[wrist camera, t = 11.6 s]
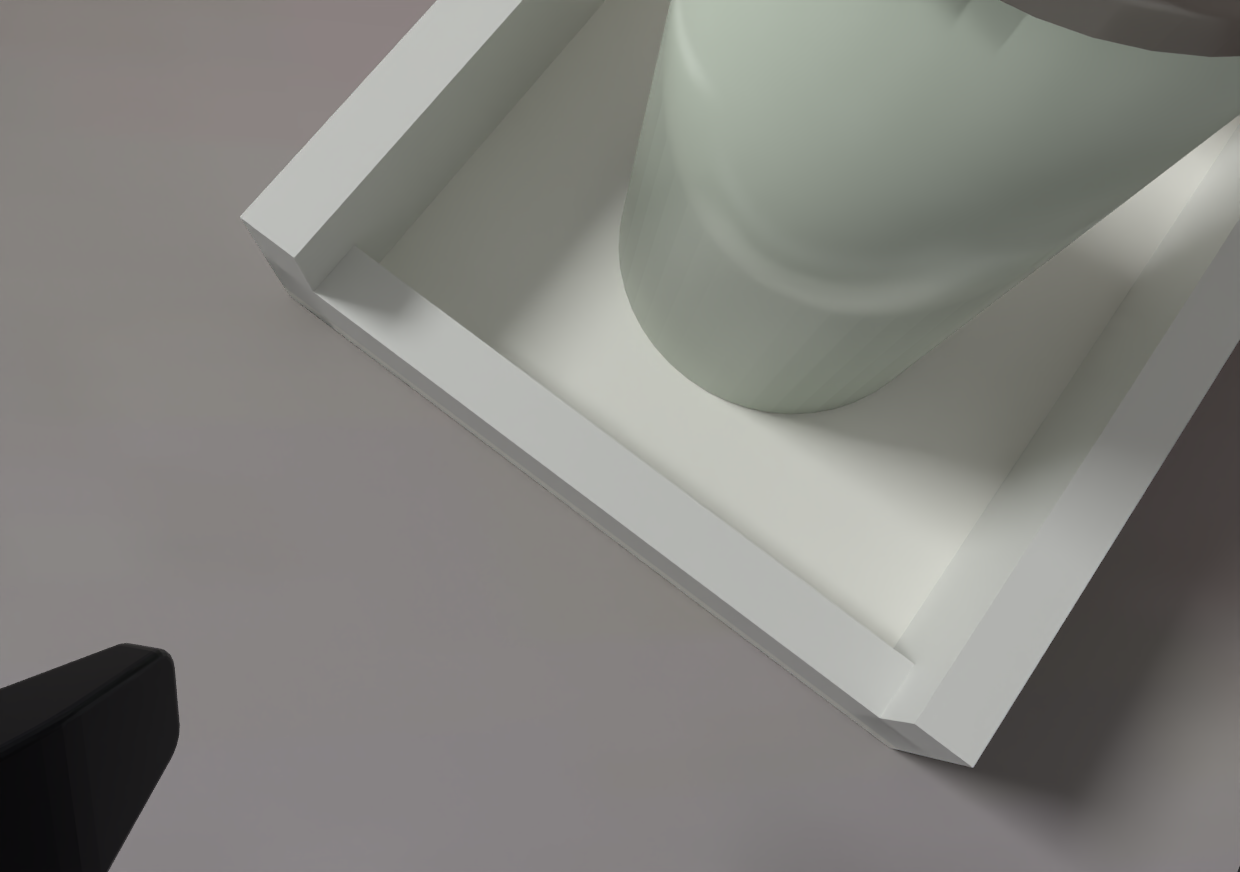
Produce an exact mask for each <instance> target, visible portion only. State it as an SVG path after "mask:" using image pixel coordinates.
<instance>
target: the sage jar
mask: <svg viewBox="0 0 1240 872" xmlns="http://www.w3.org/2000/svg"><path fill="white" fill-rule="evenodd" d="M1238 115H1240V0H671V1H670V5H669V10H668V14H667V18H666V23H665V27H664V32H663V36H662V40H661V45H660V49H659V54H658V58H657V63H656V67H655V71H654V76H653V80H652V85H651V89H650V93H649V98H648V102H647V107H646V111H645V115H644V120H643V124H642V129H641V133H640V138H639V142H638V146H637V151H636V155H635V160H634V164H633V168H632V173H631V177H630V182H629V186H628V190H627V195H626V199H625V204H624V208H623V213H622V218H621V223H620V231H619V261H620V270H621V275H622V279H623V284H624V289H625V292H626V294H627V297H628V300H629V303H630V305H631V308H632V311H633V312H634V314H635V316H636V318H637V320H638V322H639V324H640V326H641V328H642V330H643V331H644V332H645V334H646V335H647V337H648V338H649V340H650V341H651V342H652V344H653V345H654V347H655V348H656V349H657V350H658V351H659V352H660V353H661V355H662V356H663V357H664V358H665V359H666V360H667V361H668V362H669V363H670V364H671V365H672V366H673V367H674V368H675V369H677V370H678V371H679V372H680V373H681V374H682V375H684V376H685V377H686V378H687V379H689V380H690V381H692V382H693V383H695V384H696V385H698V386H699V387H701V388H702V389H704V390H705V391H707V392H709V393H711V394H714V395H716V396H718V397H720V398H722V399H724V400H726V401H729V402H731V403H734V404H737V405H740V406H743V407H746V408H750V409H755V410H760V411H765V412H770V413H783V414H803V413H816V412H821V411H826V410H831V409H836V408H839V407H842V406H845V405H848V404H851V403H854V402H856V401H858V400H860V399H862V398H864V397H866V396H868V395H870V394H872V393H874V392H876V391H877V390H879V389H880V388H882V387H883V386H885V385H886V384H888V383H889V382H891V381H892V380H893V379H895V378H896V377H897V376H898V375H900V374H901V373H902V372H904V371H905V370H906V369H908V368H909V367H910V366H912V365H913V364H914V363H915V362H917V361H918V360H919V359H921V358H922V357H923V356H925V355H926V354H927V353H929V352H930V351H931V350H932V349H934V348H935V347H936V346H938V345H939V344H940V343H942V342H943V341H944V340H945V339H947V338H948V337H949V336H951V335H952V334H953V333H955V332H956V331H957V330H959V329H960V328H961V327H962V326H964V325H965V324H966V323H968V322H969V321H970V320H972V319H973V318H974V317H976V316H977V315H978V314H979V313H981V312H982V311H983V310H985V309H986V308H987V307H989V306H990V305H991V304H993V303H994V302H995V301H996V300H998V299H999V298H1000V297H1002V296H1003V295H1004V294H1006V293H1007V292H1008V291H1010V290H1011V289H1012V288H1013V287H1015V286H1016V285H1017V284H1019V283H1020V282H1021V281H1023V280H1024V279H1025V278H1027V277H1028V276H1029V275H1030V274H1032V273H1033V272H1034V271H1036V270H1037V269H1038V268H1040V267H1041V266H1042V265H1044V264H1045V263H1046V262H1047V261H1049V260H1050V259H1051V258H1053V257H1054V256H1055V255H1057V254H1058V253H1059V252H1061V251H1062V250H1063V249H1064V248H1066V247H1067V246H1068V245H1070V244H1071V243H1072V242H1074V241H1075V240H1076V239H1078V238H1079V237H1080V236H1081V235H1083V234H1084V233H1085V232H1087V231H1088V230H1089V229H1091V228H1092V227H1093V226H1095V225H1096V224H1097V223H1098V222H1100V221H1101V220H1102V219H1104V218H1105V217H1106V216H1108V215H1109V214H1110V213H1112V212H1113V211H1114V210H1115V209H1117V208H1118V207H1119V206H1121V205H1122V204H1123V203H1125V202H1126V201H1127V200H1129V199H1130V198H1131V197H1132V196H1134V195H1135V194H1136V193H1138V192H1139V191H1140V190H1142V189H1143V188H1144V187H1145V186H1147V185H1148V184H1149V183H1151V182H1152V181H1153V180H1155V179H1156V178H1157V177H1159V176H1160V175H1161V174H1162V173H1164V172H1165V171H1166V170H1168V169H1169V168H1170V167H1172V166H1173V165H1174V164H1176V163H1177V162H1178V161H1179V160H1181V159H1182V158H1183V157H1185V156H1186V155H1187V154H1189V153H1190V152H1191V151H1193V150H1194V149H1195V148H1196V147H1198V146H1199V145H1200V144H1202V143H1203V142H1204V141H1206V140H1207V139H1208V138H1210V137H1211V136H1212V135H1213V134H1215V133H1216V132H1217V131H1219V130H1220V129H1221V128H1223V127H1224V126H1225V125H1227V124H1228V123H1229V122H1230V121H1232V120H1233V119H1234V118H1236V117H1237V116H1238Z"/></svg>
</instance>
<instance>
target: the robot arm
mask: <svg viewBox="0 0 1240 872" xmlns="http://www.w3.org/2000/svg"><path fill="white" fill-rule="evenodd" d="M179 726H180V724H179V712H178V701H177V689H176V678H175V667H174V662H173V659H172V657H171V655H170V654H169V653H168V652H166V651H165V650H163V649H159V648H154V647H148V646H142V645H136V644H130V643H124V644H119V645H116V646H113V647H110V648H108V649H105V650H102V651H100V652H97V653H94V654H92V655H89V656H86V657H84V658H81V659H78V660H76V661H73V662H70V663H68V664H65V665H62V666H60V667H57V668H54V669H52V670H49V671H46V672H44V673H41V674H39V675H36V676H33V677H31V678H28V679H25V680H23V681H20V682H17V683H15V684H12V685H9V686H7V687H4V688H1V689H0V872H108V871H109V869H110V867H111V865H112V863H113V862H114V860H115V858H116V856H117V855H118V853H119V851H120V849H121V847H122V846H123V844H124V842H125V840H126V838H127V837H128V835H129V833H130V831H131V829H132V828H133V826H134V824H135V822H136V820H137V819H138V817H139V815H140V813H141V812H142V810H143V808H144V806H145V804H146V803H147V801H148V799H149V797H150V795H151V794H152V792H153V790H154V788H155V786H156V785H157V783H158V781H159V779H160V777H161V776H162V774H163V772H164V770H165V769H166V767H167V765H168V763H169V761H170V760H171V758H172V756H173V753H174V751H175V748H176V746H177V742H178V738H179ZM1238 872H1240V867H1239V869H1238Z"/></svg>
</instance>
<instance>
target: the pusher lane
mask: <svg viewBox="0 0 1240 872" xmlns="http://www.w3.org/2000/svg"><path fill="white" fill-rule="evenodd" d="M670 1H671V0H437V1H436V2H435V3H434V4H433V5H432V6H431V7H430V9H429V10H428V11H427V12H426V13H425V14H424V15H423V16H422V17H421V18H420V20H419V21H418V22H417V23H416V24H415V25H414V26H413V27H412V28H411V29H410V31H409V32H408V33H407V34H406V35H405V36H404V37H403V38H402V39H401V40H400V42H399V43H398V44H397V45H396V46H395V47H394V48H393V49H392V50H391V51H390V53H389V54H388V55H387V56H386V57H385V58H384V59H383V60H382V61H381V62H380V64H379V65H378V66H377V67H376V68H375V69H374V70H373V71H372V72H371V73H370V75H369V76H368V77H367V78H366V79H365V80H364V81H363V82H362V83H361V84H360V85H359V87H358V88H357V89H356V90H355V91H354V92H353V93H352V94H351V95H350V96H349V98H348V99H347V100H346V101H345V102H344V103H343V104H342V105H341V106H340V107H339V109H338V110H337V111H336V112H335V113H334V114H333V115H332V116H331V117H330V118H329V120H328V121H327V122H326V123H325V124H324V125H323V126H322V127H321V128H320V129H319V131H318V132H317V133H316V134H315V135H314V136H313V137H312V138H311V139H310V140H309V142H308V143H307V144H306V145H305V146H304V147H303V148H302V149H301V150H300V151H299V153H298V154H297V155H296V156H295V157H294V158H293V159H292V160H291V161H290V162H289V164H288V165H287V166H286V167H285V168H284V169H283V170H282V171H281V172H280V173H279V174H278V176H277V177H276V178H275V179H274V180H273V181H272V182H271V183H270V184H269V185H268V187H267V188H266V189H265V190H264V191H263V192H262V193H261V194H260V195H259V196H258V198H257V199H256V200H255V201H254V202H253V203H252V204H251V205H250V206H249V207H248V209H247V210H246V211H245V212H244V213H243V214H242V215H241V216H240V218H241V220H242V221H243V223H244V224H245V226H246V228H247V229H248V231H249V232H250V234H251V236H252V237H253V239H254V240H255V242H256V243H257V245H258V247H259V248H260V250H261V251H262V253H263V255H264V256H265V258H266V259H267V261H268V262H269V264H270V266H271V267H272V269H273V270H274V272H275V274H276V275H277V277H278V278H279V280H280V282H281V283H282V285H283V286H284V288H285V289H286V291H287V293H288V294H289V296H291V297H292V298H293V299H295V300H296V301H297V302H299V303H300V304H301V305H303V306H304V307H305V308H306V309H308V310H309V311H310V312H312V313H313V314H314V315H316V316H317V317H318V318H320V319H321V320H322V321H324V322H325V323H326V324H328V325H329V326H330V327H332V328H333V329H334V330H336V331H337V332H338V333H340V334H341V335H342V336H344V337H345V338H346V339H348V340H349V341H350V342H352V343H353V344H354V345H356V346H357V347H358V348H360V349H361V350H362V351H364V352H365V353H366V354H368V355H369V356H370V357H372V358H373V359H374V360H376V361H377V362H378V363H379V364H381V365H382V366H383V367H385V368H386V369H387V370H389V371H390V372H391V373H393V374H394V375H395V376H397V377H398V378H399V379H401V380H402V381H403V382H405V383H406V384H407V385H409V386H410V387H411V388H413V389H414V390H415V391H417V392H418V393H419V394H421V395H422V396H423V397H425V398H426V399H427V400H429V401H430V402H431V403H433V404H434V405H435V406H437V407H438V408H439V409H441V410H442V411H443V412H445V413H446V414H447V415H449V416H450V417H451V418H452V419H454V420H455V421H456V422H458V423H459V424H460V425H462V426H463V427H464V428H466V429H467V430H468V431H470V432H471V433H472V434H474V435H475V436H476V437H478V438H479V439H480V440H482V441H483V442H484V443H486V444H487V445H488V446H490V447H491V448H492V449H494V450H495V451H496V452H498V453H499V454H500V455H502V456H503V457H504V458H506V459H507V460H508V461H510V462H511V463H512V464H514V465H515V466H516V467H518V468H519V469H520V470H522V471H523V472H524V473H525V474H527V475H528V476H529V477H531V478H532V479H533V480H535V481H536V482H537V483H539V484H540V485H541V486H543V487H544V488H545V489H547V490H548V491H549V492H551V493H552V494H553V495H555V496H556V497H557V498H559V499H560V500H561V501H563V502H564V503H565V504H567V505H568V506H569V507H571V508H572V509H573V510H575V511H576V512H577V513H579V514H580V515H581V516H583V517H584V518H585V519H587V520H588V521H589V522H591V523H592V524H593V525H595V526H596V527H597V528H598V529H600V530H601V531H602V532H604V533H605V534H606V535H608V536H609V537H610V538H612V539H613V540H614V541H616V542H617V543H618V544H620V545H621V546H622V547H624V548H625V549H626V550H628V551H629V552H630V553H632V554H633V555H634V556H636V557H637V558H638V559H640V560H641V561H642V562H644V563H645V564H646V565H648V566H649V567H650V568H652V569H653V570H654V571H656V572H657V573H658V574H660V575H661V576H662V577H664V578H665V579H666V580H668V581H669V582H670V583H671V584H673V585H674V586H675V587H677V588H678V589H679V590H681V591H682V592H683V593H685V594H686V595H687V596H689V597H690V598H691V599H693V600H694V601H695V602H697V603H698V604H699V605H701V606H702V607H703V608H705V609H706V610H707V611H709V612H710V613H711V614H713V615H714V616H715V617H717V618H718V619H719V620H721V621H722V622H723V623H725V624H726V625H727V626H729V627H730V628H731V629H733V630H734V631H735V632H737V633H738V634H739V635H741V636H742V637H743V638H744V639H746V640H747V641H748V642H750V643H751V644H752V645H754V646H755V647H756V648H758V649H759V650H760V651H762V652H763V653H764V654H766V655H767V656H768V657H770V658H771V659H772V660H774V661H775V662H776V663H778V664H779V665H780V666H782V667H783V668H784V669H786V670H787V671H788V672H790V673H791V674H792V675H794V676H795V677H796V678H798V679H799V680H800V681H802V682H803V683H804V684H806V685H807V686H808V687H810V688H811V689H812V690H814V691H815V692H816V693H817V694H819V695H820V696H821V697H823V698H824V699H825V700H827V701H828V702H829V703H831V704H832V705H833V706H835V707H836V708H837V709H839V710H840V711H841V712H843V713H844V714H845V715H847V716H848V717H849V718H851V719H852V720H853V721H855V722H856V723H857V724H859V725H860V726H861V727H863V728H864V729H865V730H867V731H868V732H869V733H871V734H872V735H873V736H875V737H876V738H877V739H879V740H880V741H881V742H883V743H884V744H885V745H887V746H888V747H889V748H893V749H897V750H901V751H905V752H909V753H914V754H918V755H922V756H926V757H930V758H934V759H939V760H943V761H947V762H951V763H955V764H959V765H963V766H968V767H972V768H973V767H974V765H975V764H976V762H977V761H978V759H979V757H980V756H981V754H982V753H983V751H984V749H985V748H986V746H987V745H988V743H989V741H990V740H991V738H992V737H993V735H994V733H995V732H996V730H997V729H998V727H999V725H1000V724H1001V722H1002V720H1003V719H1004V717H1005V716H1006V714H1007V712H1008V711H1009V709H1010V708H1011V706H1012V704H1013V703H1014V701H1015V700H1016V698H1017V696H1018V695H1019V693H1020V692H1021V690H1022V688H1023V687H1024V685H1025V684H1026V682H1027V680H1028V679H1029V677H1030V676H1031V674H1032V672H1033V671H1034V669H1035V667H1036V666H1037V664H1038V663H1039V661H1040V659H1041V658H1042V656H1043V655H1044V653H1045V651H1046V650H1047V648H1048V647H1049V645H1050V643H1051V642H1052V640H1053V639H1054V637H1055V635H1056V634H1057V632H1058V631H1059V629H1060V627H1061V626H1062V624H1063V623H1064V621H1065V619H1066V618H1067V616H1068V615H1069V613H1070V611H1071V610H1072V608H1073V606H1074V605H1075V603H1076V602H1077V600H1078V598H1079V597H1080V595H1081V594H1082V592H1083V590H1084V589H1085V587H1086V586H1087V584H1088V582H1089V581H1090V579H1091V578H1092V576H1093V574H1094V573H1095V571H1096V570H1097V568H1098V566H1099V565H1100V563H1101V562H1102V560H1103V558H1104V557H1105V555H1106V553H1107V552H1108V550H1109V549H1110V547H1111V545H1112V544H1113V542H1114V541H1115V539H1116V537H1117V536H1118V534H1119V533H1120V531H1121V529H1122V528H1123V526H1124V525H1125V523H1126V521H1127V520H1128V518H1129V517H1130V515H1131V513H1132V512H1133V510H1134V509H1135V507H1136V505H1137V504H1138V502H1139V500H1140V499H1141V497H1142V496H1143V494H1144V492H1145V491H1146V489H1147V488H1148V486H1149V484H1150V483H1151V481H1152V480H1153V478H1154V476H1155V475H1156V473H1157V472H1158V470H1159V468H1160V467H1161V465H1162V464H1163V462H1164V460H1165V459H1166V457H1167V456H1168V454H1169V452H1170V451H1171V449H1172V447H1173V446H1174V444H1175V443H1176V441H1177V439H1178V438H1179V436H1180V435H1181V433H1182V431H1183V430H1184V428H1185V427H1186V425H1187V423H1188V422H1189V420H1190V419H1191V417H1192V415H1193V414H1194V412H1195V411H1196V409H1197V407H1198V406H1199V404H1200V403H1201V401H1202V399H1203V398H1204V396H1205V394H1206V393H1207V391H1208V390H1209V388H1210V386H1211V385H1212V383H1213V382H1214V380H1215V378H1216V377H1217V375H1218V374H1219V372H1220V370H1221V369H1222V367H1223V366H1224V364H1225V362H1226V361H1227V359H1228V358H1229V356H1230V354H1231V353H1232V351H1233V350H1234V348H1235V346H1236V345H1237V343H1238V341H1239V340H1240V115H1238V116H1237V117H1236V118H1234V119H1233V120H1232V121H1230V122H1229V123H1228V124H1227V125H1225V126H1224V127H1223V128H1221V129H1220V130H1219V131H1217V132H1216V133H1215V134H1213V135H1212V136H1211V137H1210V138H1208V139H1207V140H1206V141H1204V142H1203V143H1202V144H1200V145H1199V146H1198V147H1196V148H1195V149H1194V150H1193V151H1191V152H1190V153H1189V154H1187V155H1186V156H1185V157H1183V158H1182V159H1181V160H1179V161H1178V162H1177V163H1176V164H1174V165H1173V166H1172V167H1170V168H1169V169H1168V170H1166V171H1165V172H1164V173H1162V174H1161V175H1160V176H1159V177H1157V178H1156V179H1155V180H1153V181H1152V182H1151V183H1149V184H1148V185H1147V186H1145V187H1144V188H1143V189H1142V190H1140V191H1139V192H1138V193H1136V194H1135V195H1134V196H1132V197H1131V198H1130V199H1129V200H1127V201H1126V202H1125V203H1123V204H1122V205H1121V206H1119V207H1118V208H1117V209H1115V210H1114V211H1113V212H1112V213H1110V214H1109V215H1108V216H1106V217H1105V218H1104V219H1102V220H1101V221H1100V222H1098V223H1097V224H1096V225H1095V226H1093V227H1092V228H1091V229H1089V230H1088V231H1087V232H1085V233H1084V234H1083V235H1081V236H1080V237H1079V238H1078V239H1076V240H1075V241H1074V242H1072V243H1071V244H1070V245H1068V246H1067V247H1066V248H1064V249H1063V250H1062V251H1061V252H1059V253H1058V254H1057V255H1055V256H1054V257H1053V258H1051V259H1050V260H1049V261H1047V262H1046V263H1045V264H1044V265H1042V266H1041V267H1040V268H1038V269H1037V270H1036V271H1034V272H1033V273H1032V274H1030V275H1029V276H1028V277H1027V278H1025V279H1024V280H1023V281H1021V282H1020V283H1019V284H1017V285H1016V286H1015V287H1013V288H1012V289H1011V290H1010V291H1008V292H1007V293H1006V294H1004V295H1003V296H1002V297H1000V298H999V299H998V300H996V301H995V302H994V303H993V304H991V305H990V306H989V307H987V308H986V309H985V310H983V311H982V312H981V313H979V314H978V315H977V316H976V317H974V318H973V319H972V320H970V321H969V322H968V323H966V324H965V325H964V326H962V327H961V328H960V329H959V330H957V331H956V332H955V333H953V334H952V335H951V336H949V337H948V338H947V339H945V340H944V341H943V342H942V343H940V344H939V345H938V346H936V347H935V348H934V349H932V350H931V351H930V352H929V353H927V354H926V355H925V356H923V357H922V358H921V359H919V360H918V361H917V362H915V363H914V364H913V365H912V366H910V367H909V368H908V369H906V370H905V371H904V372H902V373H901V374H900V375H898V376H897V377H896V378H895V379H893V380H892V381H891V382H889V383H888V384H886V385H885V386H883V387H882V388H880V389H879V390H877V391H876V392H874V393H872V394H870V395H868V396H866V397H864V398H862V399H860V400H858V401H856V402H854V403H851V404H848V405H845V406H842V407H839V408H836V409H831V410H826V411H821V412H816V413H803V414H783V413H770V412H765V411H760V410H755V409H750V408H746V407H743V406H740V405H737V404H734V403H731V402H729V401H726V400H724V399H722V398H720V397H718V396H716V395H714V394H711V393H709V392H707V391H705V390H704V389H702V388H701V387H699V386H698V385H696V384H695V383H693V382H692V381H690V380H689V379H687V378H686V377H685V376H684V375H682V374H681V373H680V372H679V371H678V370H677V369H675V368H674V367H673V366H672V365H671V364H670V363H669V362H668V361H667V360H666V359H665V358H664V357H663V356H662V355H661V353H660V352H659V351H658V350H657V349H656V348H655V347H654V345H653V344H652V342H651V341H650V340H649V338H648V337H647V335H646V334H645V332H644V331H643V330H642V328H641V326H640V324H639V322H638V320H637V318H636V316H635V314H634V312H633V311H632V308H631V305H630V303H629V300H628V297H627V294H626V292H625V289H624V284H623V279H622V275H621V270H620V261H619V231H620V223H621V218H622V213H623V208H624V204H625V199H626V195H627V190H628V186H629V182H630V177H631V173H632V168H633V164H634V160H635V155H636V151H637V146H638V142H639V138H640V133H641V129H642V124H643V120H644V115H645V111H646V107H647V102H648V98H649V93H650V89H651V85H652V80H653V76H654V71H655V67H656V63H657V58H658V54H659V49H660V45H661V40H662V36H663V32H664V27H665V23H666V18H667V14H668V10H669V5H670Z"/></svg>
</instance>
